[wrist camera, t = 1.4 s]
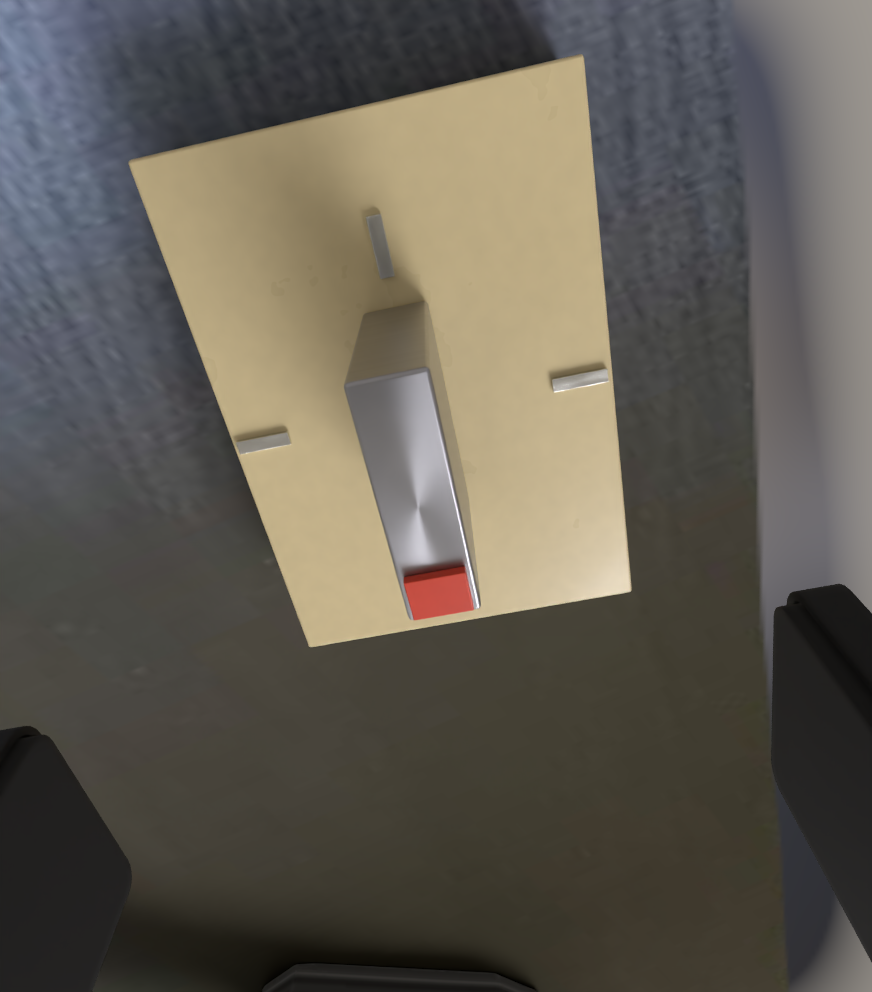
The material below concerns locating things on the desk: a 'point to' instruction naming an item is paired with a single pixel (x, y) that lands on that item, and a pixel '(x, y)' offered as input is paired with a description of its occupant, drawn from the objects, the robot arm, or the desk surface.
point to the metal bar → (413, 460)
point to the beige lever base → (455, 318)
